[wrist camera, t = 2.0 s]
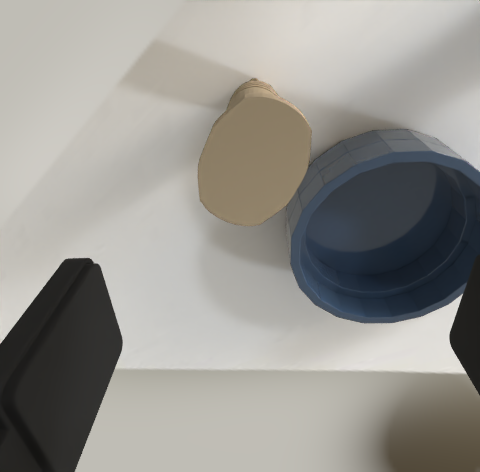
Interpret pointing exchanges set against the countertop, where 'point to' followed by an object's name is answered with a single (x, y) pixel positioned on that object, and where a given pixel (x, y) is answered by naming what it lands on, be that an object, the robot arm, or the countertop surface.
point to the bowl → (385, 227)
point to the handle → (254, 156)
